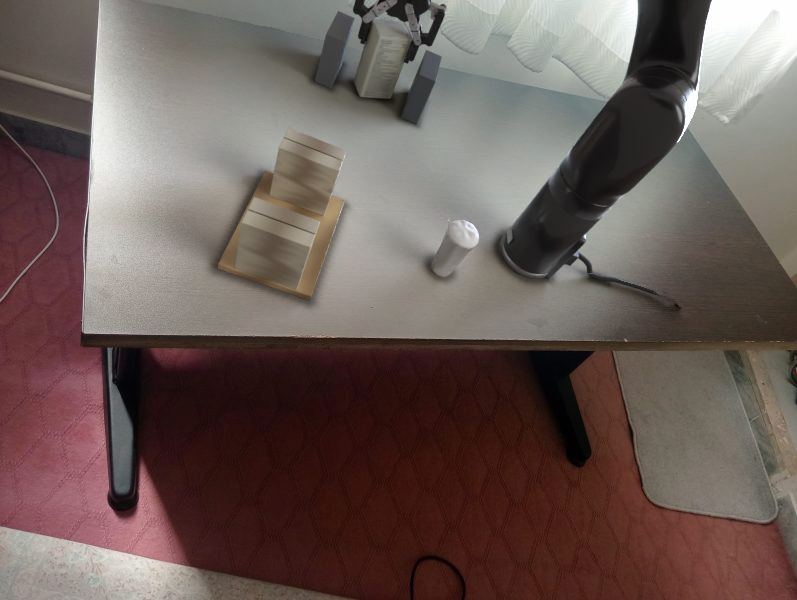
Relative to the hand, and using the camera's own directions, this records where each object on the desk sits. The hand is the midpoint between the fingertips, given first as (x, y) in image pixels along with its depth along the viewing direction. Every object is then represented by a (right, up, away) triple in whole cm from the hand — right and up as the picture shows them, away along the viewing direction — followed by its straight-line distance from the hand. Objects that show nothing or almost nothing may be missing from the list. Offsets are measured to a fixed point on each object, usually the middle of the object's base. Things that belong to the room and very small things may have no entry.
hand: (385, 51), depth 90 cm
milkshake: (+8, -37, -11) cm, 39 cm away
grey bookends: (-3, -4, +6) cm, 8 cm away
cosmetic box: (-3, -4, +6) cm, 8 cm away
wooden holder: (-13, -33, -17) cm, 39 cm away
